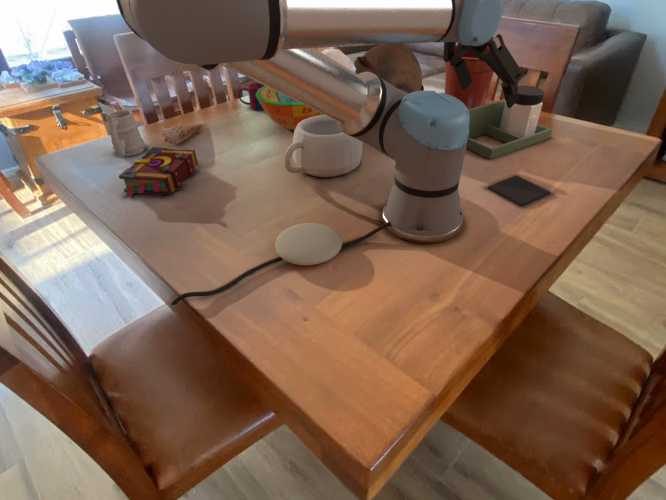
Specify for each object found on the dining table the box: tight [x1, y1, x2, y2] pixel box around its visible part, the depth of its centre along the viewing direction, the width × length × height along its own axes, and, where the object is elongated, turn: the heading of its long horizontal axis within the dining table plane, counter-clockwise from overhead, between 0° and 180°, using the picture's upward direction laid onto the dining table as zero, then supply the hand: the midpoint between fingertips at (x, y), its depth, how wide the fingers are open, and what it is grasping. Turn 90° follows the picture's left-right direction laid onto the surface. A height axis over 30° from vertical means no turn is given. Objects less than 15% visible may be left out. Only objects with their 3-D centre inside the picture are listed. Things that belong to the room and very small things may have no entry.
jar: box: [499, 85, 545, 138], centre depth 112 cm, size 9×8×12 cm
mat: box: [487, 175, 552, 207], centre depth 92 cm, size 9×9×1 cm
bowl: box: [256, 86, 325, 131], centre depth 122 cm, size 22×22×10 cm
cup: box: [237, 82, 265, 111], centre depth 136 cm, size 7×10×7 cm
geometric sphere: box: [320, 48, 354, 72], centre depth 143 cm, size 14×15×15 cm
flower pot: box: [444, 44, 494, 109], centre depth 130 cm, size 16×16×16 cm
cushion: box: [274, 222, 343, 266], centre depth 76 cm, size 12×12×3 cm
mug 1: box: [105, 109, 146, 158], centre depth 108 cm, size 8×12×12 cm, turn 5°
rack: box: [466, 98, 553, 160], centre depth 111 cm, size 22×13×8 cm, turn 121°
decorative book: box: [118, 146, 199, 198], centre depth 98 cm, size 11×16×5 cm
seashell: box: [161, 123, 205, 145], centre depth 118 cm, size 4×18×5 cm, turn 159°
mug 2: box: [283, 115, 363, 178], centre depth 100 cm, size 21×17×10 cm
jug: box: [353, 44, 425, 93], centre depth 122 cm, size 20×20×30 cm
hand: (489, 94), depth 95 cm, fingers open, 13 cm apart
